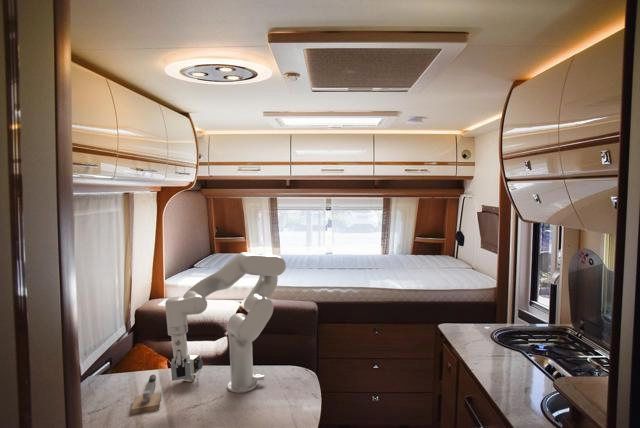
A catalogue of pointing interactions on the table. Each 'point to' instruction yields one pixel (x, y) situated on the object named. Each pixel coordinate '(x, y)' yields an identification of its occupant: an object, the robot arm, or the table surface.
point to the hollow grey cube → (187, 369)
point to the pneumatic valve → (194, 366)
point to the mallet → (147, 398)
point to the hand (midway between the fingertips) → (181, 371)
